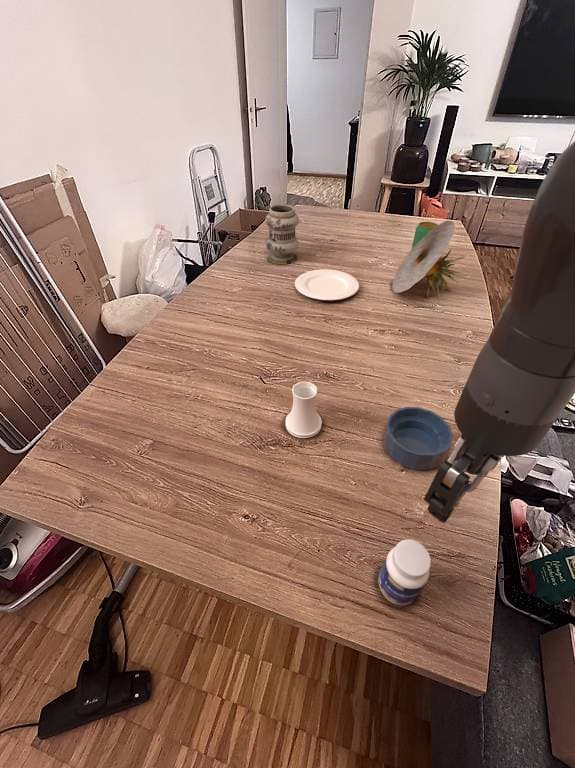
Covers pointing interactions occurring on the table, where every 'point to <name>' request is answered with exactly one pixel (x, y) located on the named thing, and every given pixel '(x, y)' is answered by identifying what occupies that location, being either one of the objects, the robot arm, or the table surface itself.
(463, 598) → the table surface
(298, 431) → the vase
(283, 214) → the apothecary jar
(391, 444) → the bowl
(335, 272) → the plate
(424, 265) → the potted plant
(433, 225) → the beverage can
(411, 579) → the pill bottle
